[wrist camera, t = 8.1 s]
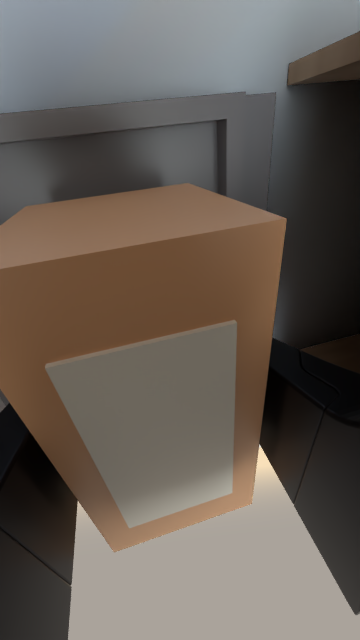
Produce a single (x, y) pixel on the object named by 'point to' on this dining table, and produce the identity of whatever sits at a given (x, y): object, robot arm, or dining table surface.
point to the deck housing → (322, 66)
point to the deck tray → (137, 150)
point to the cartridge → (142, 349)
